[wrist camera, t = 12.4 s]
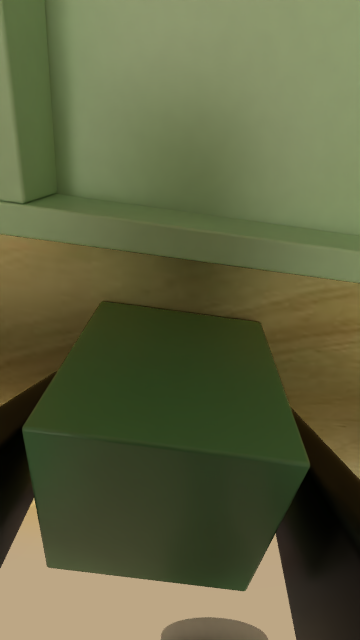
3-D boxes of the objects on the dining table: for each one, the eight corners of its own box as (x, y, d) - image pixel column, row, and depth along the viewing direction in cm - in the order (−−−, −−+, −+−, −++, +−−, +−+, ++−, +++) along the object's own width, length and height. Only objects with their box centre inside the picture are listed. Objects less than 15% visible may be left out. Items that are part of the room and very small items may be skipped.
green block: (229, 432, 11) (246, 592, 7) (101, 415, 11) (46, 568, 7) (261, 321, 9) (312, 465, 5) (101, 300, 9) (19, 428, 5)
